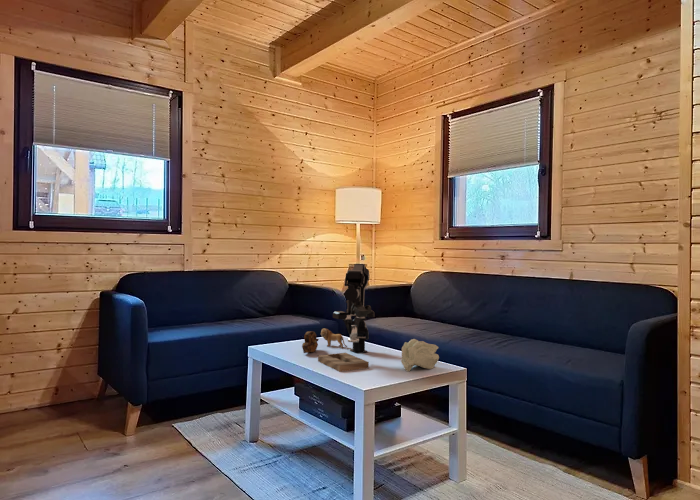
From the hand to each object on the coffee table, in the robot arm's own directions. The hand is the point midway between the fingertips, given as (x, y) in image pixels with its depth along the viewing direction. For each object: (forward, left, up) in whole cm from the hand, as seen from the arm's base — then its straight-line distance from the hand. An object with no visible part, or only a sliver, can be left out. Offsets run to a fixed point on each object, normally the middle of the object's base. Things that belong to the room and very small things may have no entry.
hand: (353, 333), depth 215 cm
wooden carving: (-25, -9, -13) cm, 30 cm away
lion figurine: (-33, +7, -13) cm, 36 cm away
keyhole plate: (+3, -7, -12) cm, 14 cm away
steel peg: (0, 0, -3) cm, 3 cm away
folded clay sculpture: (+22, +19, -13) cm, 32 cm away
